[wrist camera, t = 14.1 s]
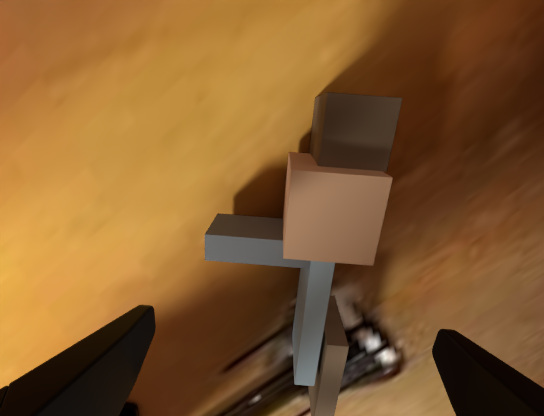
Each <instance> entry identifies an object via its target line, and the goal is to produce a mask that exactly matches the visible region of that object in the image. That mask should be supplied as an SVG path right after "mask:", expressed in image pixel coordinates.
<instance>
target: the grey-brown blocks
mask: <svg viewBox="0 0 544 416" xmlns="http://www.w3.org/2000/svg"><path fill="white" fill-rule="evenodd" d="M401 103H402V98H397V97H383V96H370V95H356V94H343V93H330V92H327V93H325V94H323V95H320V96H318V97H315V104H314V113H313V122H312V130H311V139H310V148H309V152H310V154H311V156H312V157H313V159H314V160H315V162H316V163H317V165H318V166H322V167H335V168H348V169H361V170H374V171H386V172H387V168H388V163H389V158H390V154H391V149H392V144H393V140H394V135H395V131H396V126H397V121H398V117H399V112H400V107H401ZM348 348H349V346H348V342H347V338H346V335H345V331H344V328H343V324H342V321H341V317H340V313H339V310H338V306H337V303H336V299H335V296H331V295H330V296H329V302H328V308H327V313H326V319H325V325H324V331H323V337H322V343H321V349H320V354H319V360H318V366H317V372H316V378H315V384H314V386H309V397H310V408H311V416H334V413H335V409H336V404H337V399H338V395H339V390H340V386H341V381H342V376H343V372H344V367H345V362H346V358H347V353H348Z"/></svg>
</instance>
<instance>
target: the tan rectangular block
mask: <svg viewBox="0 0 544 416" xmlns="http://www.w3.org/2000/svg"><path fill="white" fill-rule="evenodd" d="M392 179H393V178H392V177H391V176H389V175H387V174H386V173H384V172H382V171H374V170H361V169H348V168H335V167H322V166H318V165H317V163H316V162H315V160H314V159H313V157H312V156H311V154H309V153H296V152H289V155H288V166H287V177H286V188H285V199H284V210H283V259H296V260H308V261H321V262H333V263H346V264H358V265H371V266H373V264H374V259H375V255H376V250H377V246H378V241H379V237H380V233H381V228H382V224H383V219H384V215H385V210H386V206H387V201H388V197H389V193H390V188H391V184H392Z"/></svg>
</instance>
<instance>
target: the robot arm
mask: <svg viewBox="0 0 544 416" xmlns="http://www.w3.org/2000/svg"><path fill="white" fill-rule="evenodd" d="M154 333H155V315H154V308H153V306H150V305H139V306H137V307H135V308H133V309H132V310H130V311H128V312H127V313H125V314H123V315H122V316H120V317H119V318H117V319H115V320H114V321H112V322H110V323H109V324H107V325H105V326H104V327H102V328H100V329H99V330H97V331H95V332H94V333H92V334H91V335H89V336H87V337H86V338H84V339H82V340H81V341H79V342H77V343H76V344H74V345H72V346H71V347H69V348H67V349H66V350H64V351H62V352H61V353H59V354H58V355H56V356H54V357H53V358H51V359H49V360H48V361H46V362H44V363H43V364H41V365H39V366H38V367H36V368H34V369H33V370H31V371H29V372H28V373H26V374H25V375H23V376H21V377H20V378H18V379H16V380H15V381H13V382H11V383H10V384H9V386H5V387H3V388H1V389H0V416H139V411H138V407H137V406H136V405H135V404H131V403H125V402H126V400H127V398H128V396H129V394H130V392H131V390H132V388H133V386H134V384H135V382H136V379H137V377H138V374H139V372H140V369H141V367H142V364H143V362H144V359H145V357H146V354H147V351H148V349H149V346H150V344H151V341H152V339H153V336H154ZM432 354H433V358H434V361H435V363H436V366H437V369H438V371H439V374H440V376H441V379H442V382H443V384H444V387H445V389H446V392H447V394H448V397H449V400H450V402H451V405H452V407H453V409H454V412H455V414H456V416H544V388H543V387H541V386H540V385H538V384H537V383H535V382H534V381H532V380H531V379H529V378H527V377H526V376H524V375H523V374H521V373H520V372H518V371H517V370H515V369H514V368H512V367H511V366H509V365H508V364H506V363H505V362H503V361H501V360H500V359H498V358H497V357H495V356H494V355H492V354H491V353H489V352H488V351H486V350H485V349H483V348H482V347H480V346H478V345H477V344H475V343H474V342H472V341H471V340H469V339H468V338H466V337H465V336H463V335H462V334H460V333H459V332H457V331H455V330H451V329H440V330H439V331H438V334H437V337H436V340H435V342H434V345H433V349H432Z"/></svg>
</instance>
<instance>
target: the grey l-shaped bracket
mask: <svg viewBox="0 0 544 416" xmlns="http://www.w3.org/2000/svg"><path fill="white" fill-rule="evenodd" d="M205 260H209V261H221V262H233V263H245V264H258V265H270V266H282V267H294V268H300V276H299V284H298V292H297V301H296V309H295V317H294V325H293V333H292V337H293V360H294V383H295V384H296V385H308V386H314V384H315V378H316V372H317V366H318V360H319V354H320V349H321V343H322V337H323V331H324V325H325V319H326V313H327V308H328V302H329V296H330V290H331V284H332V278H333V272H334V267H335V263H333V262H321V261H308V260H296V259H283V219H281V218H268V217H256V216H243V215H231V214H217V216H216V217H215V219H214V220H213V222H212V224H211V225H210V227H209V228H208V230H207V232H206V233H205Z"/></svg>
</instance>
